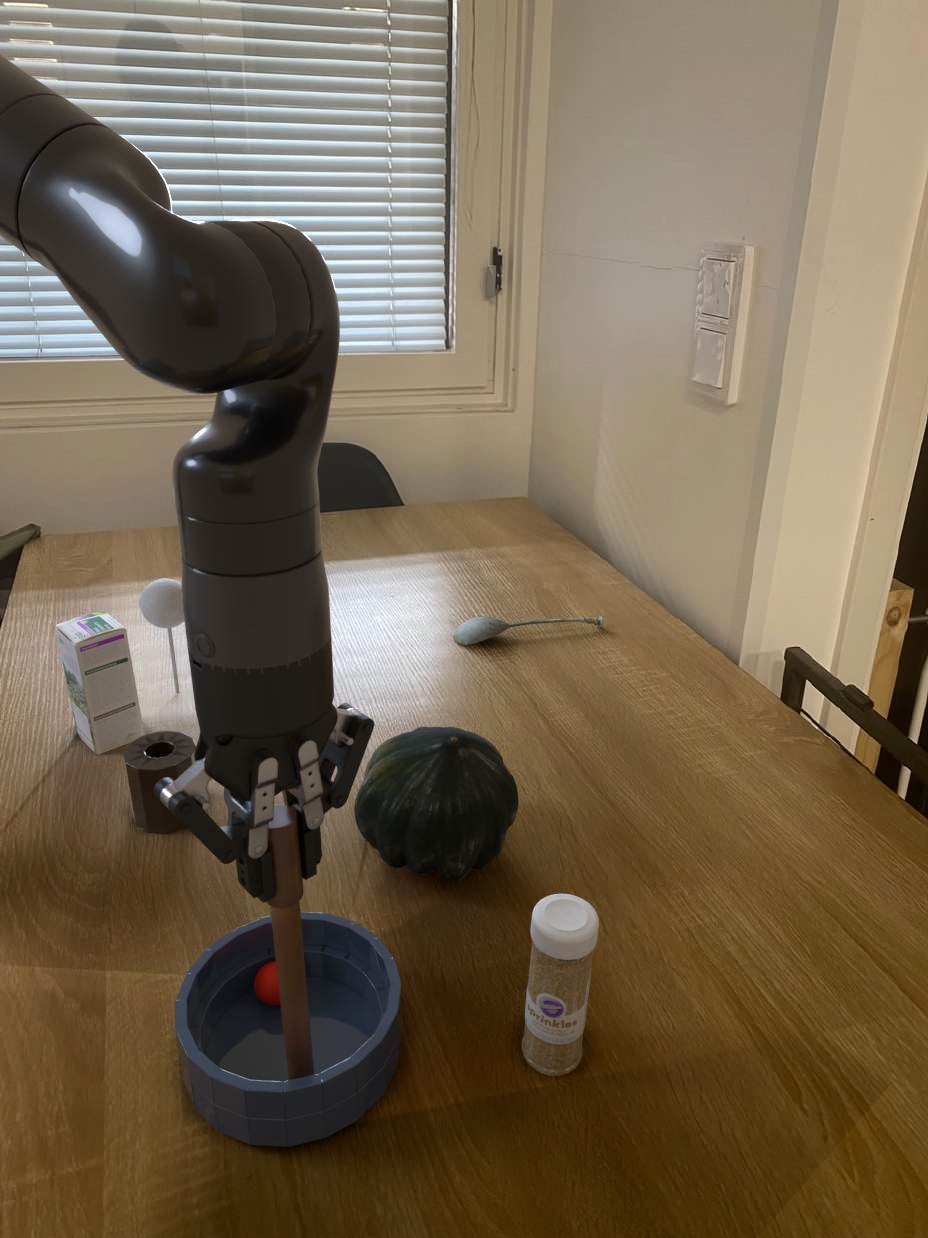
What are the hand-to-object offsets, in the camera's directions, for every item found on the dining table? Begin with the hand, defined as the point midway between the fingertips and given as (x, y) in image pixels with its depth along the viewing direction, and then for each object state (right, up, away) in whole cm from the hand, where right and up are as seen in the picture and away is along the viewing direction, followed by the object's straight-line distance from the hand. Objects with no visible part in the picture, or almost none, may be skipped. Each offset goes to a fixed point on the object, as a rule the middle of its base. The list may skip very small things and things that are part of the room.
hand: (281, 881), depth 56 cm
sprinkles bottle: (+18, -16, +12) cm, 27 cm away
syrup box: (-29, +2, +47) cm, 55 cm away
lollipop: (-24, +7, +57) cm, 62 cm away
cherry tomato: (-3, -12, +14) cm, 19 cm away
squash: (+9, -6, +32) cm, 33 cm away
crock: (-18, -4, +35) cm, 40 cm away
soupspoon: (+20, +14, +74) cm, 78 cm away
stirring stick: (0, -15, +7) cm, 17 cm away
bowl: (-1, -16, +11) cm, 19 cm away
